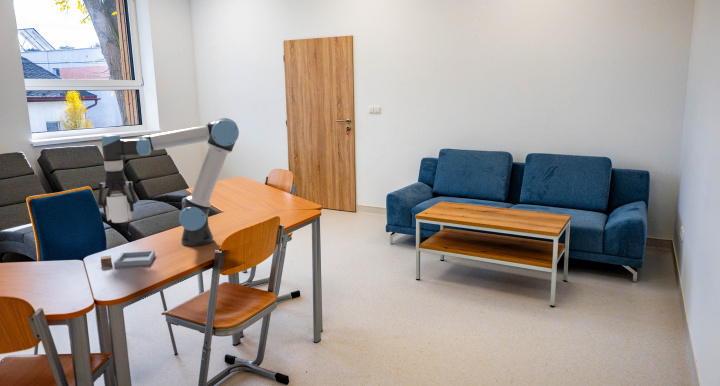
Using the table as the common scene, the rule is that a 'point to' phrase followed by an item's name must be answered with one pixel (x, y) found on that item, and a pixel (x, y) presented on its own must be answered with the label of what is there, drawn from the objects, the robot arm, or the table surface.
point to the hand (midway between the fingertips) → (119, 219)
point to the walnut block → (106, 261)
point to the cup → (118, 207)
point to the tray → (134, 259)
